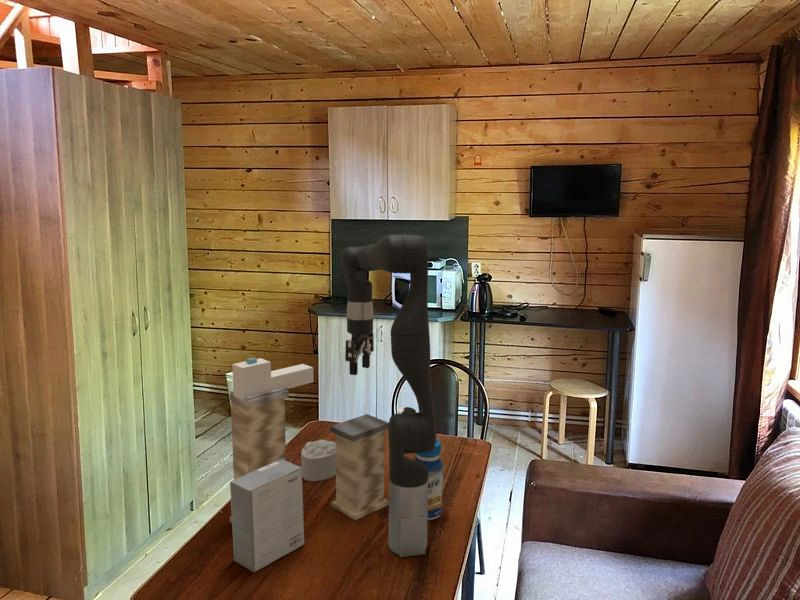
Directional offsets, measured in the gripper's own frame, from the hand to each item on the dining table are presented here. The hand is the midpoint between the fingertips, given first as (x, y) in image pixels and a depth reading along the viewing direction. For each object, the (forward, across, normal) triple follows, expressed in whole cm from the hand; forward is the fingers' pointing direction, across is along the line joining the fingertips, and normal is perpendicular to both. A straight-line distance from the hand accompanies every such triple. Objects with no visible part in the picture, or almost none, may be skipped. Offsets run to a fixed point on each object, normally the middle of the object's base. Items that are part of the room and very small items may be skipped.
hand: (359, 371), depth 191 cm
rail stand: (+32, -34, +12) cm, 48 cm away
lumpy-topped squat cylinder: (+32, -4, +11) cm, 34 cm away
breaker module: (-2, -30, +10) cm, 32 cm away
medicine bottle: (+31, +27, -5) cm, 41 cm away
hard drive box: (+33, -46, +2) cm, 57 cm away
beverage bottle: (+32, -15, -26) cm, 44 cm away
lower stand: (+32, -18, -8) cm, 37 cm away
